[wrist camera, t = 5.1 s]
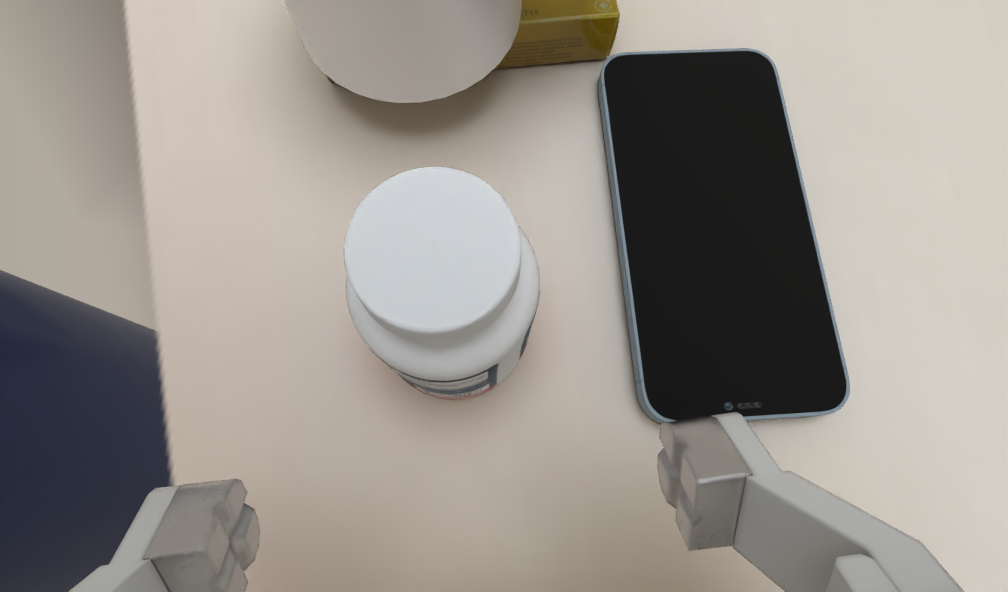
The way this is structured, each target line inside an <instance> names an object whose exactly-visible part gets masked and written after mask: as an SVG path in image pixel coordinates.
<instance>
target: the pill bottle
mask: <svg viewBox="0 0 1008 592" xmlns="http://www.w3.org/2000/svg"><path fill="white" fill-rule="evenodd" d="M344 263H345V269H346V272H347V277H346V297H347V303H348V308H349V312H350V315H351V318H352V320H353V323H354V325H355V327H356V329H357V331H358V333H359V334H360V336H361V337H362V339H363V340H364V342H365V343H366V344H367V346H368V347H369V348H370V349H371V350H372V351H373V353H374V354H375V355H376V356H378V357H379V358H380V359H381V360H382V361H383V362H385V363H386V364H387V365H388V366H389V367H391V368H392V369H393V370H394V371H395V372H396V373H397V374H399V375H400V376H401V377H402V378H403V379H404V380H405V381H406V382H407V383H409V384H410V385H411V386H413V387H414V388H416V389H417V390H419V391H421V392H423V393H425V394H428V395H430V396H434V397H437V398H442V399H453V400H454V399H466V398H471V397H475V396H478V395H480V394H483V393H485V392H487V391H489V390H491V389H492V388H494V387H495V386H497V385H498V384H499V383H501V382H502V381H503V380H504V379H505V378H506V377H507V376H508V375H509V374H510V373H511V372H512V370H513V369H514V368H515V366H516V365H517V363H518V362H519V360H520V358H521V356H522V354H523V352H524V349H525V347H526V344H527V340H528V336H529V332H530V328H531V325H532V322H533V319H534V316H535V313H536V310H537V306H538V301H539V294H540V277H539V269H538V264H537V260H536V256H535V253H534V250H533V248H532V246H531V244H530V242H529V240H528V238H527V236H526V235H525V233H524V232H523V230H522V229H521V228H520V227H519V225H518V224H517V221H516V219H515V217H514V214H513V212H512V210H511V209H510V207H509V205H508V204H507V203H506V201H505V200H504V199H503V197H502V196H501V195H500V194H499V193H498V192H497V191H496V190H495V189H494V188H493V187H492V186H490V185H489V184H488V183H487V182H484V181H483V180H481V179H480V178H478V177H477V176H474V175H472V174H470V173H468V172H465V171H461V170H457V169H453V168H448V167H435V166H434V167H422V168H416V169H411V170H408V171H405V172H402V173H399V174H397V175H395V176H392V177H391V178H389V179H387V180H385V181H384V182H382V183H381V184H380V185H378V186H377V187H375V188H374V189H373V190H372V191H371V192H369V194H368V195H367V196H366V197H365V198H364V199H363V200H362V202H361V203H360V204H359V206H358V207H357V209H356V211H355V212H354V214H353V216H352V218H351V220H350V223H349V225H348V229H347V232H346V237H345V242H344Z"/></svg>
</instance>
